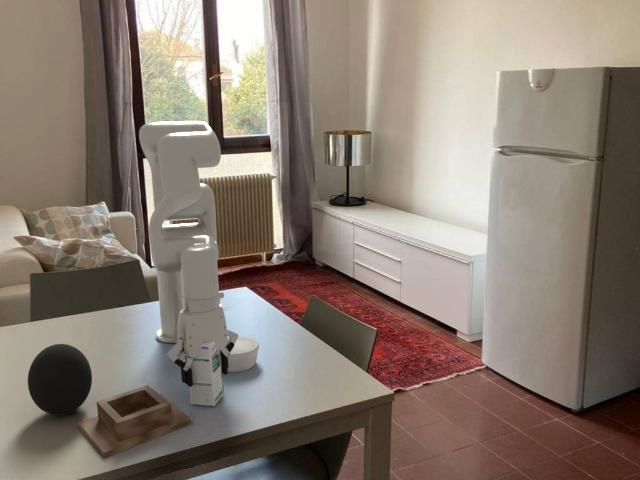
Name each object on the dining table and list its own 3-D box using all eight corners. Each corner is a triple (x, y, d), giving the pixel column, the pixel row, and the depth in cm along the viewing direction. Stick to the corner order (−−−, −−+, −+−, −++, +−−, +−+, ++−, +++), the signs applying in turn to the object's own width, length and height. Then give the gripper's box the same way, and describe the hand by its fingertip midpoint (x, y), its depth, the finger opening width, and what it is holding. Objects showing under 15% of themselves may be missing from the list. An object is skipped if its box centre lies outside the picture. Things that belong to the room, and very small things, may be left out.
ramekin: (205, 365, 148) (203, 345, 147) (239, 351, 156) (238, 332, 155) (233, 379, 141) (232, 358, 140) (268, 363, 149) (267, 344, 148)
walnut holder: (161, 398, 132) (160, 377, 131) (191, 423, 122) (190, 401, 120) (79, 426, 121) (76, 404, 120) (104, 457, 110) (101, 433, 109)
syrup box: (214, 406, 128) (211, 344, 124) (189, 404, 129) (184, 342, 125) (224, 393, 133) (221, 333, 129) (199, 391, 134) (195, 331, 131)
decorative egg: (31, 432, 119) (21, 363, 116) (33, 404, 130) (24, 340, 127) (97, 419, 124) (89, 352, 120) (93, 393, 135) (86, 331, 131)
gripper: (227, 289, 133) (231, 361, 138) (154, 307, 123) (160, 384, 127) (245, 297, 128) (248, 372, 132) (171, 317, 117) (177, 398, 121)
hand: (205, 378), depth 130 cm, fingers closed on syrup box, 8 cm apart
